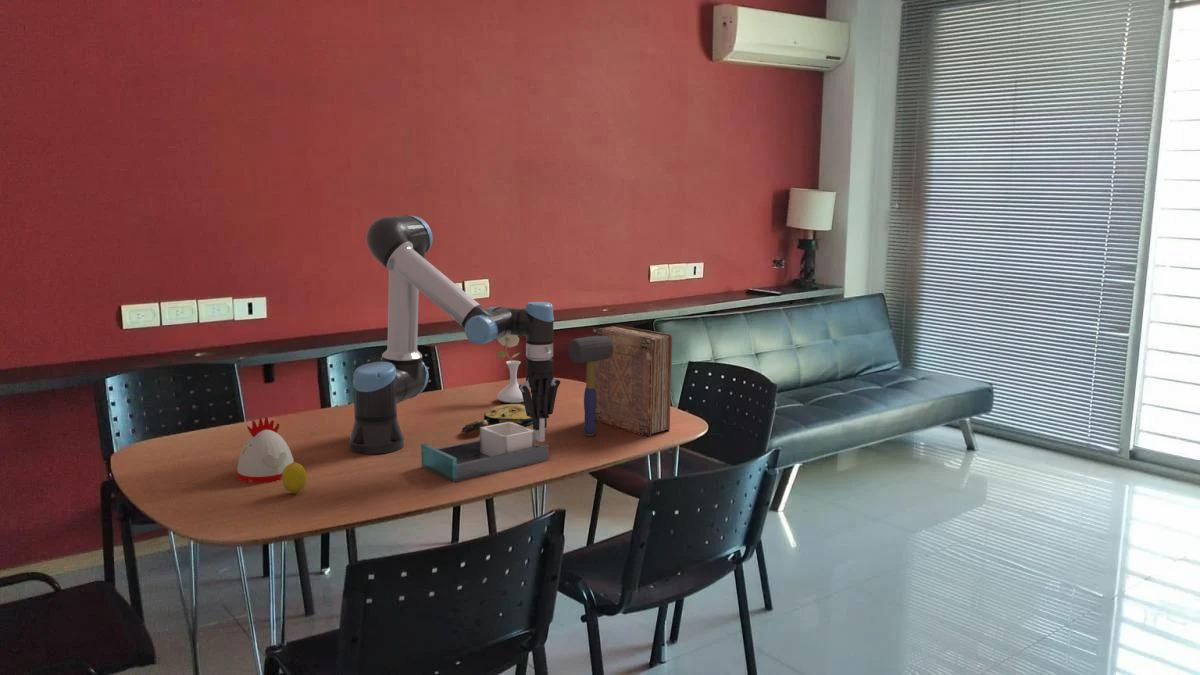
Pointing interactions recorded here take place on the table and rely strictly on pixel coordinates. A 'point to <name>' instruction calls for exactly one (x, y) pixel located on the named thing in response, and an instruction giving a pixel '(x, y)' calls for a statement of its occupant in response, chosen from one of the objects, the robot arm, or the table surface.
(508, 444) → the crate
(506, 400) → the flower in vase
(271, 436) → the kitchen timer
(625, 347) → the book
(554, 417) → the table surface
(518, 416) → the pulley block
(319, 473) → the table surface
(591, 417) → the rubber mallet
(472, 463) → the bay
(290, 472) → the lemon
